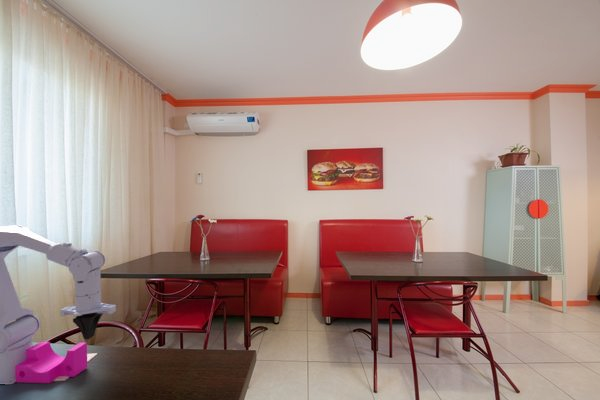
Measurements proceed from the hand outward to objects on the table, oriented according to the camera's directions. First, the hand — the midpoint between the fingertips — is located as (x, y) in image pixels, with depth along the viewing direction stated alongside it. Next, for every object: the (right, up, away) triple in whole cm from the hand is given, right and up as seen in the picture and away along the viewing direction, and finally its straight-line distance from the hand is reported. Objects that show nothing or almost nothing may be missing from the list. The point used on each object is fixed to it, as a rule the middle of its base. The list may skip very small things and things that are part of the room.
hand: (89, 337), depth 69 cm
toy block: (-8, -9, -3) cm, 13 cm away
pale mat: (-7, -10, +1) cm, 12 cm away
